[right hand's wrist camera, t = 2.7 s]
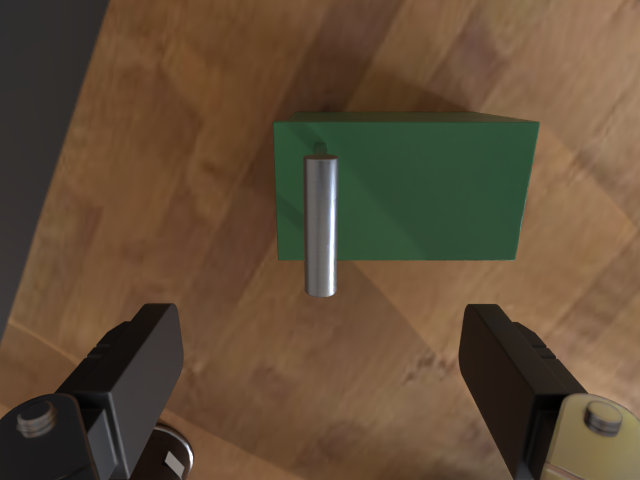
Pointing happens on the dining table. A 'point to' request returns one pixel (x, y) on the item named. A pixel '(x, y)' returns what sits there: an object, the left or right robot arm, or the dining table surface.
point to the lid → (399, 191)
